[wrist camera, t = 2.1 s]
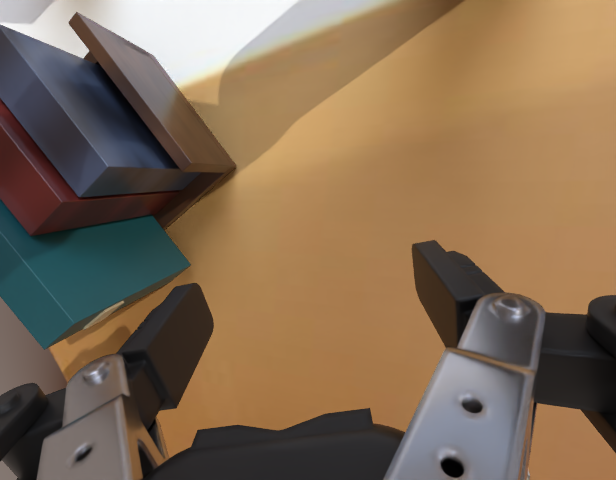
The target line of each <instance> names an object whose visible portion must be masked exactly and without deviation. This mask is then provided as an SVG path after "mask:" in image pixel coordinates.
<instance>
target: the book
mask: <svg viewBox="0 0 616 480" xmlns="http://www.w3.org/2000/svg"><path fill="white" fill-rule="evenodd" d="M190 265H191V264H190V263H189V262H188V260H187V259H186V258H185V257H184V255H183V254H182V253H181V251H180V250H179V249H178V248H177V246H176V245H175V244H174V242H173V241H172V240H171V239H170V237H169V236H168V235H167V233H166V232H165V231H164V230H163V228H162V227H161V226H160V224H159V223H158V222H157V221H156V219H155V218H154V217H153V215H146V216H140V217H135V218H129V219H124V220H118V221H112V222H107V223H101V224H96V225H90V226H84V227H79V228H73V229H68V230H62V231H56V232H51V233H45V234H40V235H34V236H30V235H29V234H28V232H27V231H26V230H25V229H24V227H23V226H22V225H21V224H20V222H19V221H18V220H17V219H16V217H15V216H14V215H13V214H12V213H11V211H10V210H9V209H8V208H7V206H6V205H5V204H4V203H3V201H2V200H1V199H0V297H1V298H2V299H3V300H4V302H5V303H6V304H7V305H8V306H9V308H10V309H11V310H12V311H13V312H14V314H15V315H16V316H17V317H18V319H19V320H20V321H21V322H22V323H23V325H24V326H25V327H26V328H27V329H28V330H29V332H30V333H31V334H32V336H33V337H34V338H35V339H36V340H37V342H38V343H39V344H40V345H41V346H42V348H43V349H47V348H49V347H50V346H52V345H54V344H56V343H58V342H60V341H62V340H63V339H65V338H67V337H69V336H71V335H73V334H75V333H76V332H78V331H80V330H82V329H84V330H85V329H87V328H89V327H91V326H93V325H94V324H96V323H98V322H100V321H102V320H104V319H105V318H106V317H107V316H108V315H110V314H112V313H114V312H115V311H117V310H119V309H121V308H123V307H125V306H127V305H128V304H130V303H132V302H134V301H136V300H138V299H140V298H141V297H143V296H145V295H147V294H149V293H151V292H153V291H154V290H156V289H158V288H160V287H162V286H164V285H166V284H167V283H169V282H170V281H172V280H173V279H174V278H175V277H177V276H178V275H179V274H180V273H182V272H183V271H184V270H185V269H187V268H188V267H189V266H190Z"/></svg>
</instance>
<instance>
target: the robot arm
mask: <svg viewBox="0 0 616 480" xmlns="http://www.w3.org/2000/svg"><path fill="white" fill-rule="evenodd" d="M412 257H413V267H414V278H415V286H416V291H417V294H418V297H419V299H420V301H421V303H422V305H423V307H424V309H425V310H426V312H427V314H428V316H429V318H430V320H431V321H432V323H433V325H434V327H435V329H436V330H437V332H438V334H439V336H440V338H441V339H442V341H443V343H444V345H445V347H446V349H445V351H444V352H443V354H442V357H441V359H440V361H439V363H438V365H437V367H436V369H435V371H434V373H433V376H432V378H431V380H430V382H429V384H428V386H427V388H426V390H425V392H424V395H423V397H422V399H421V401H420V403H419V405H418V407H417V409H416V411H415V413H414V416H413V418H412V420H411V422H410V424H409V426H408V428H407V430H406V432H403V431H400V430H398V429H395V428H392V427H388V426H385V425H380V424H373V422H372V417H371V412H370V408H367V409H359V410H351V411H344V412H336V413H328V414H324V415H321V416H318V417H316V418H313V419H310V420H308V421H305V422H302V423H300V424H297V425H294V426H292V427H289V428H287V429H284V430H279V431H277V430H269V429H262V428H256V427H249V426H242V425H233V426H226V427H218V428H210V429H202V430H197V433H196V436H195V438H194V441H193V444H192V446H191V447H190V448H188V449H186V450H184V451H182V452H180V453H178V454H176V455H174V456H173V457H171V458H169V454H168V451H167V447H166V443H165V440H164V436H163V432H162V429H161V425H160V422H159V421H158V419H157V417H156V416H157V414H158V412H159V411H160V410H167V409H175V408H177V406H178V404H179V402H180V400H181V398H182V396H183V393H184V391H185V389H186V387H187V385H188V383H189V381H190V379H191V377H192V375H193V372H194V370H195V368H196V366H197V364H198V362H199V360H200V358H201V356H202V354H203V352H204V349H205V347H206V345H207V343H208V341H209V339H210V337H211V335H212V332H213V327H214V323H213V317H212V314H211V312H210V310H209V307H208V305H207V302H206V300H205V297H204V295H203V292H202V290H201V287H200V286H199V285H198V284H197V283H192V284H187V285H181V286H176V287H175V288H174V289H173V290H172V291H171V293H170V294H169V295H168V296H167V297H166V299H165V300H164V301H163V302H162V303H161V304H160V305H159V306H157V307H156V308H155V309H153V310H152V311H151V312H150V314H149V315H148V316H147V317H146V318H145V320H144V322H142V323H141V324H140V326H139V327H138V330H135V332H134V333H133V334H132V335H131V336H130V337H129V339H128V340H127V341H126V342H125V343H124V345H123V346H122V347H121V348H120V349H119V351H118V352H117V353H116V354H111V355H106V356H103V357H101V358H98V359H96V360H94V361H92V362H91V363H89V364H87V365H86V366H84V367H83V368H82V369H80V370H79V371H78V372H77V373H76V374H75V375H74V376H73V377H72V378H71V379H70V381H69V382H68V384H67V387H66V388H64V389H61V390H59V391H56V392H53V393H51V394H48V395H45V394H44V393H43V392H42V390H41V389H40V388H39V386H38V385H37V384H35V383H29V384H24V385H21V386H19V387H16V388H14V389H12V390H10V391H8V392H6V393H4V394H2V395H1V396H0V461H1V460H2V461H3V462H4V463H5V464H6V465H7V466H8V467H9V468H10V469H11V470H12V471H13V473H14V474H15V475H16V476H17V477H18V478H17V480H527V474H528V467H529V459H530V452H531V445H532V438H533V431H534V424H535V417H536V410H537V403H540V404H547V405H554V406H561V407H568V408H574V409H581V411H582V412H583V413H584V414H585V416H586V417H587V418H588V419H589V421H590V422H591V423H592V424H593V425H594V427H595V428H596V429H597V430H598V432H599V433H600V434H601V435H602V437H603V438H604V439H605V440H606V442H607V443H608V444H609V445H610V446H611V448H612V449H613V450H614V451H615V453H616V295H610V296H602V297H598V298H596V299H594V300H592V301H591V302H590V303H589V307H588V313H587V315H583V314H561V313H548V312H545V311H544V309H543V307H542V306H541V305H540V304H539V303H537V302H536V301H534V300H532V299H530V298H528V297H525V296H522V295H519V294H514V293H505V292H504V291H503V290H502V289H501V288H500V287H499V286H498V285H497V284H496V283H495V282H493V281H492V280H491V279H490V278H489V277H488V276H487V275H486V274H485V273H484V272H482V270H481V269H480V268H479V267H478V266H475V263H474V262H472V261H471V260H470V259H469V258H468V257H467V256H465V255H463V254H460V253H458V252H456V251H449V252H446V251H445V250H444V249H443V248H442V247H441V246H440V245H439V244H438V243H437V242H436V241H435V240H432V241H426V242H421V243H415V244H413V245H412Z"/></svg>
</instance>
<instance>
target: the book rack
mask: <svg viewBox="0 0 616 480" xmlns="http://www.w3.org/2000/svg"><path fill="white" fill-rule="evenodd" d="M69 24H70V26H71V27H72V28H73V30H74V31H75V32H76V34H77V35H78V36H79V38H80V39H81V40H82V41H83V43H84V44H85V45H86V47H87V48H88V49H89V52H88V54H87V55H86V56H85V57H84V59H83V58H80V57H78V56H75V55H73V54H70V53H68V52H66V51H63V50H61V49H58V48H56V47H53V46H51V45H49V44H46V43H44V42H41V41H39V40H36V39H34V38H32V37H29V36H27V35H24V34H22V33H20V32H17V31H15V30H12V29H10V28H7V27H5V26H3V25H0V199H1V200H2V201H3V203H4V204H5V205H6V206H7V208H8V209H9V210H10V211H11V213H12V214H13V215H14V216H15V217H16V219H17V220H18V221H19V222H20V224H21V225H22V226H23V227H24V229H25V230H26V231H27V232H28V234H29V235H30V236H34V235H40V234H45V233H51V232H56V231H62V230H68V229H73V228H79V227H84V226H90V225H96V224H101V223H107V222H112V221H118V220H124V219H129V218H135V217H140V216H146V215H153V217H154V218H155V219H156V221H157V222H158V223H159V224H160V226H161V227H162V228H163V230H165V229H166V228H167V227H169V226H170V225H171V224H172V223H173V222H174V221H175V220H177V219H178V218H179V217H180V216H181V215H182V214H183V213H184V212H186V211H187V210H188V209H189V208H190V207H191V206H192V205H194V204H195V203H196V202H197V201H198V200H199V199H200V198H201V197H203V196H204V195H205V194H206V193H207V192H208V191H209V190H211V189H212V188H213V187H214V186H215V185H216V184H217V183H218V182H220V181H221V180H222V179H223V178H224V177H225V176H226V175H228V174H229V173H230V172H231V171H232V170H233V169H234V168H235V167H236V165H235V163H234V162H233V161H232V159H231V158H230V157H229V155H228V154H227V153H226V151H225V150H224V149H223V147H222V146H221V145H220V143H219V142H218V141H217V139H216V138H215V137H214V135H213V134H212V133H211V131H210V130H209V129H208V127H207V126H206V125H205V123H204V122H203V121H202V119H201V118H200V117H199V115H198V114H197V113H196V111H195V110H194V109H193V107H192V106H191V105H190V103H189V102H188V101H187V99H186V98H185V97H184V95H183V94H182V93H181V91H180V90H179V89H178V87H177V86H176V85H175V84H174V82H173V81H172V80H171V78H170V77H169V76H168V74H167V73H166V72H165V70H164V69H163V68H162V66H161V65H160V64H159V62H158V61H157V60H156V58H155V57H154V56H153V55H152V54H150V53H148V52H146V51H145V50H143V49H141V48H140V47H138V46H136V45H134V44H133V43H131V42H129V41H127V40H125V39H124V38H122V37H120V36H118V35H117V34H115V33H113V32H111V31H110V30H108V29H106V28H104V27H102V26H101V25H99V24H97V23H95V22H94V21H92V20H90V19H88V18H86V17H85V16H83V15H81V14H79V13H78V12H76V13H75V15H74V16H73V17H72V19H71V20H70V21H69Z"/></svg>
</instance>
